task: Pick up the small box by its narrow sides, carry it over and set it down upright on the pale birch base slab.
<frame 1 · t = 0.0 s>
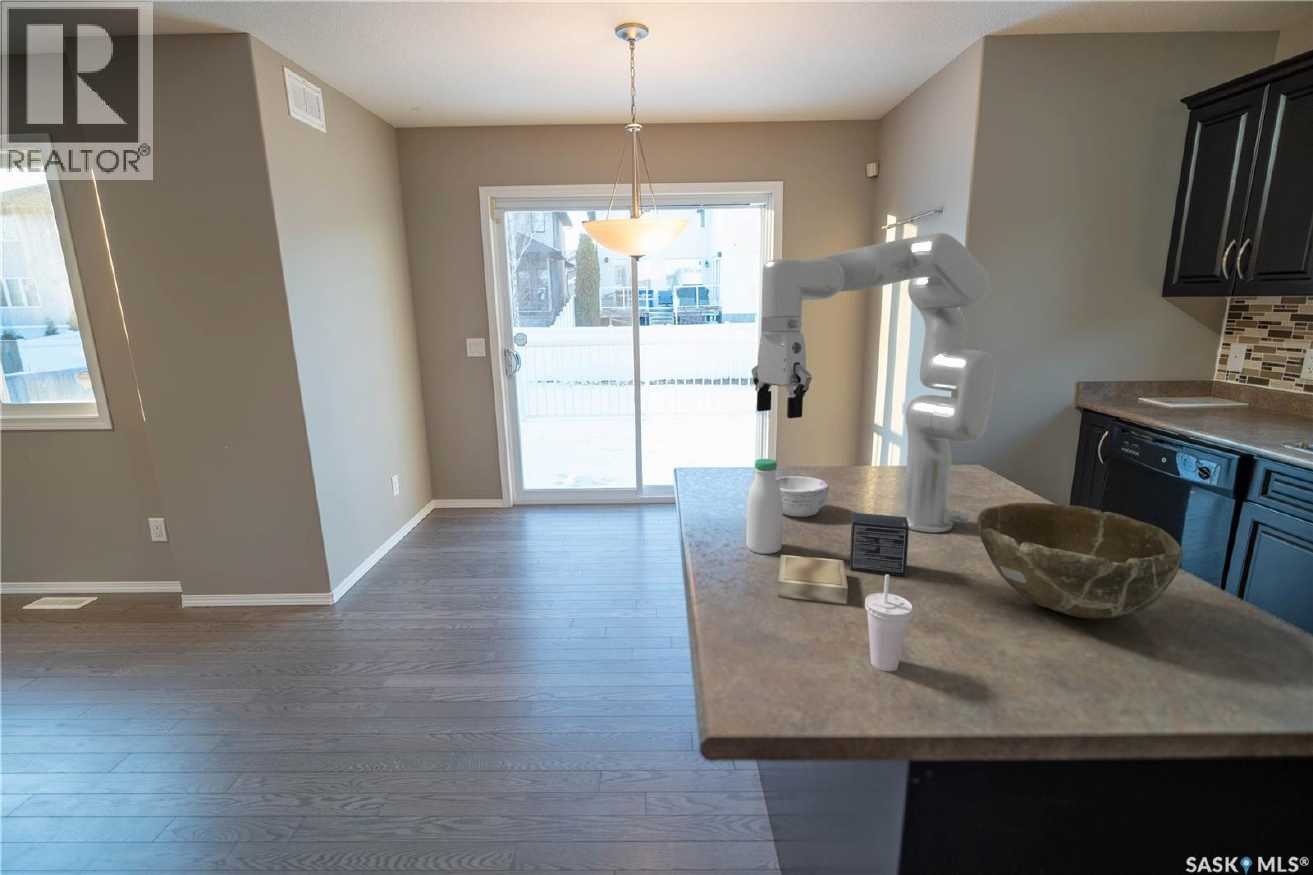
hand: (778, 414, 110), 31 cm above the counter, tool pointing down, fingers open, 9 cm apart
bowl: (1062, 608, 96), on the counter
paper bowls: (797, 512, 146), on the counter
base: (811, 585, 105), on the counter
small box: (876, 568, 112), on the counter
smoothie: (884, 664, 81), on the counter
milk bottle: (763, 548, 123), on the counter
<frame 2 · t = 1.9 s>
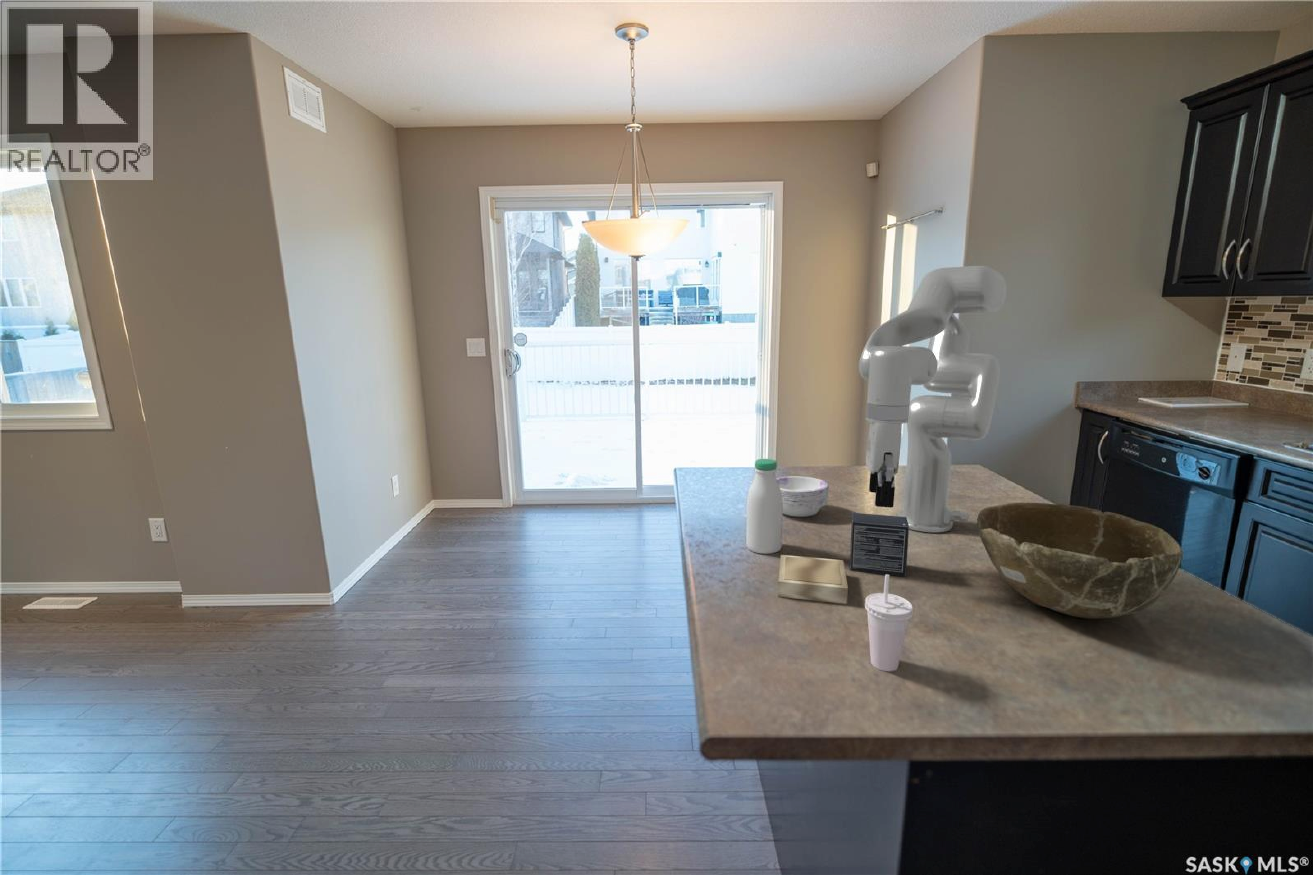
hand: (880, 499, 109), 15 cm above the counter, tool pointing down, fingers open, 9 cm apart
nothing on the counter moved.
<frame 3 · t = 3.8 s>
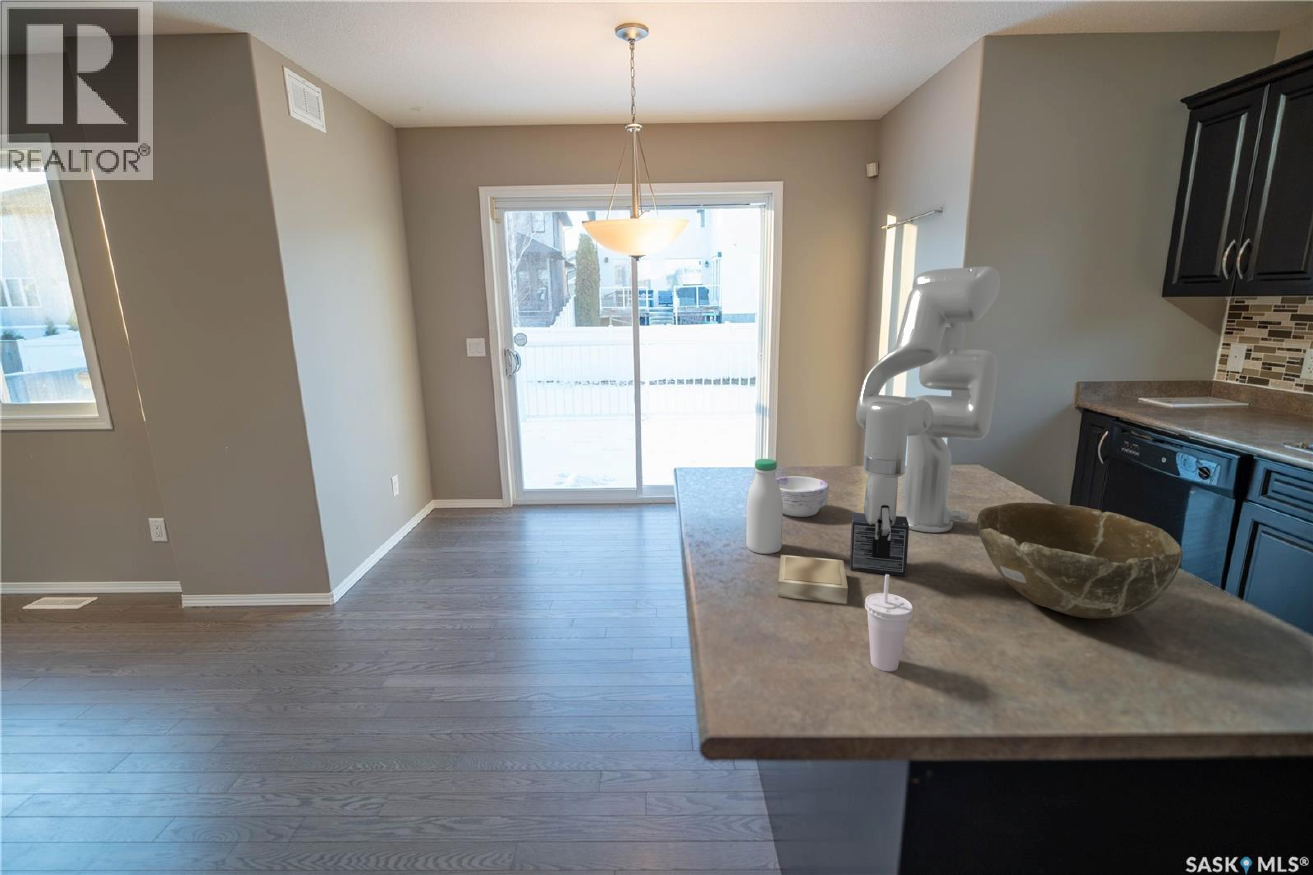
hand: (878, 549, 112), 4 cm above the counter, tool pointing down, fingers closed on small box, 6 cm apart
small box: (876, 568, 112), on the counter, touching gripper
everything else where it was.
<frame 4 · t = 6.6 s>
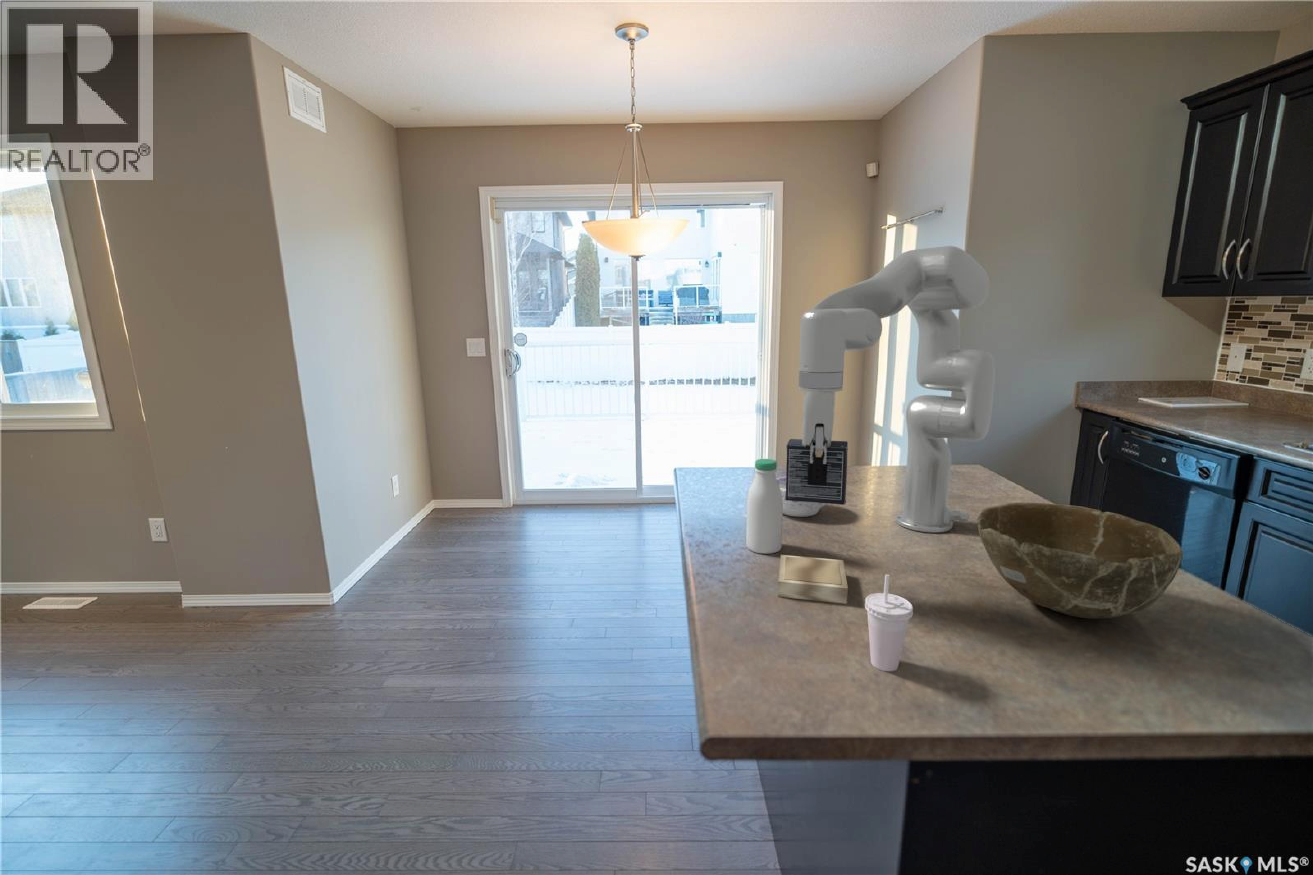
hand: (816, 478, 101), 21 cm above the counter, tool pointing down, fingers closed on small box, 6 cm apart
small box: (815, 498, 102), point 17 cm above the counter, touching gripper
everything else where it was.
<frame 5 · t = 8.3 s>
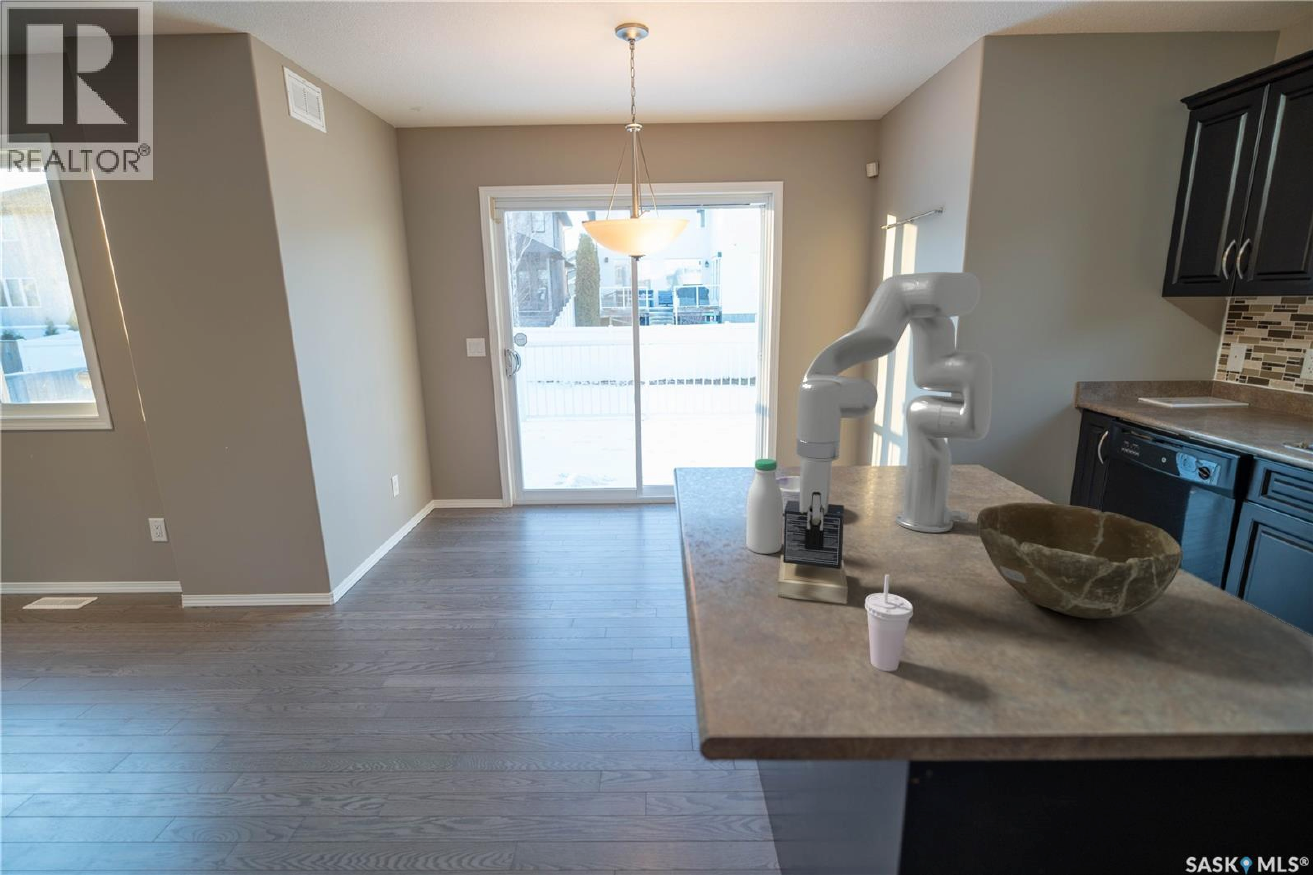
hand: (813, 541, 103), 9 cm above the counter, tool pointing down, fingers closed on small box, 6 cm apart
small box: (812, 560, 104), point 5 cm above the counter, touching gripper
everything else where it was.
when the fingers open (8 cm above the counter, at t = 9.4 s): small box drops 1 cm, resting on base.
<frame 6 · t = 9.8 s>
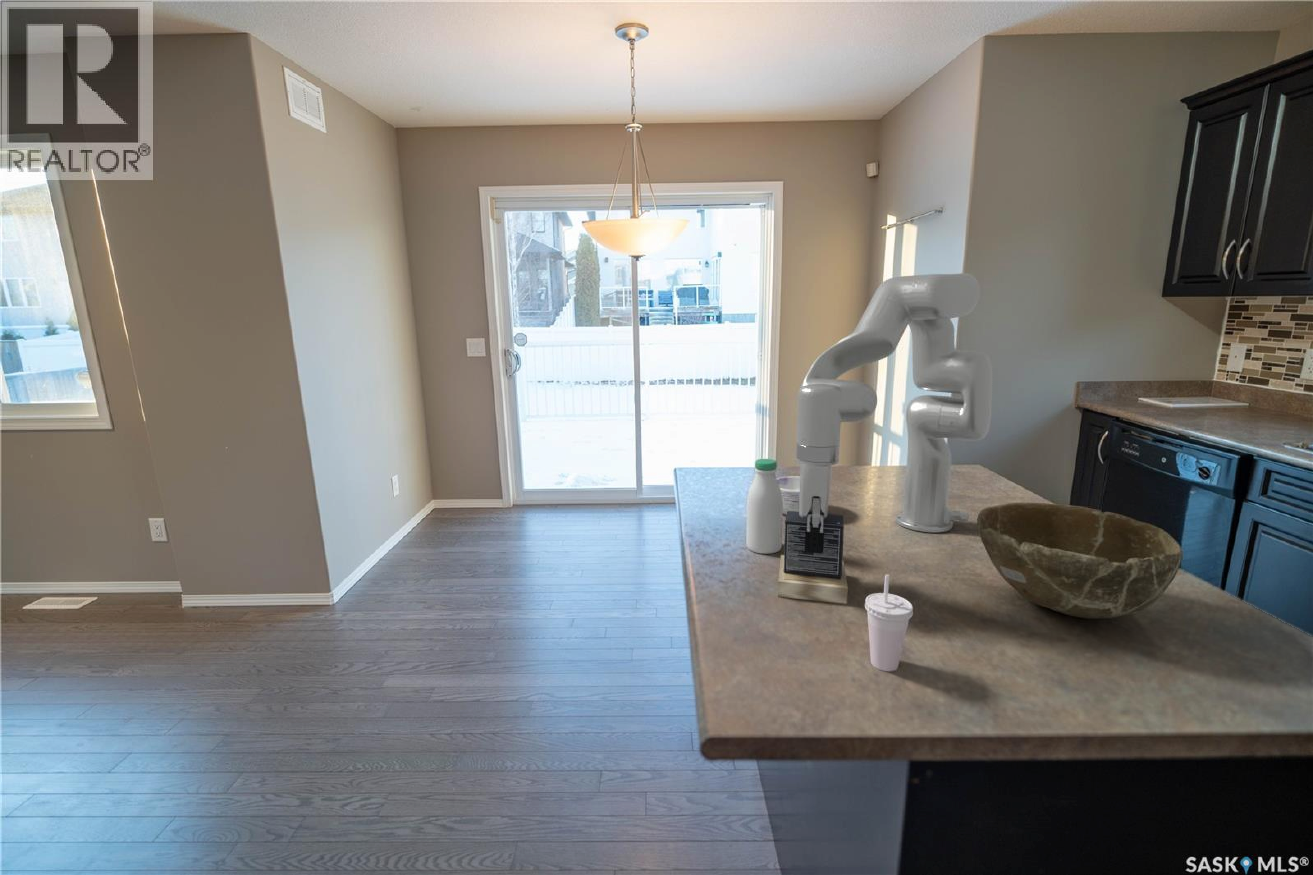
hand: (813, 541, 103), 9 cm above the counter, tool pointing down, fingers open, 9 cm apart
small box: (812, 570, 105), point 3 cm above the counter, touching base
everything else where it was.
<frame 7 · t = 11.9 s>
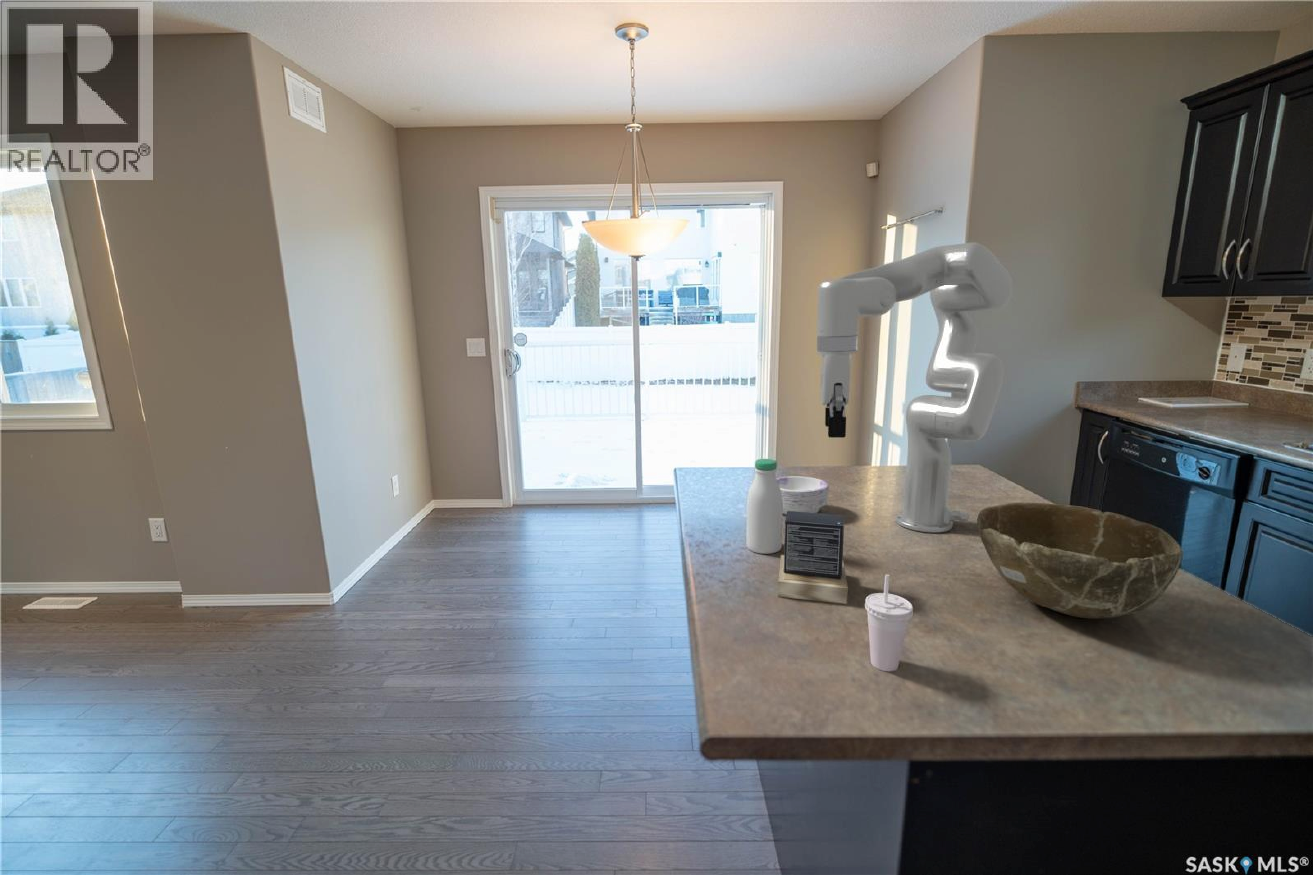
hand: (834, 431, 111), 27 cm above the counter, tool pointing down, fingers open, 9 cm apart
nothing on the counter moved.
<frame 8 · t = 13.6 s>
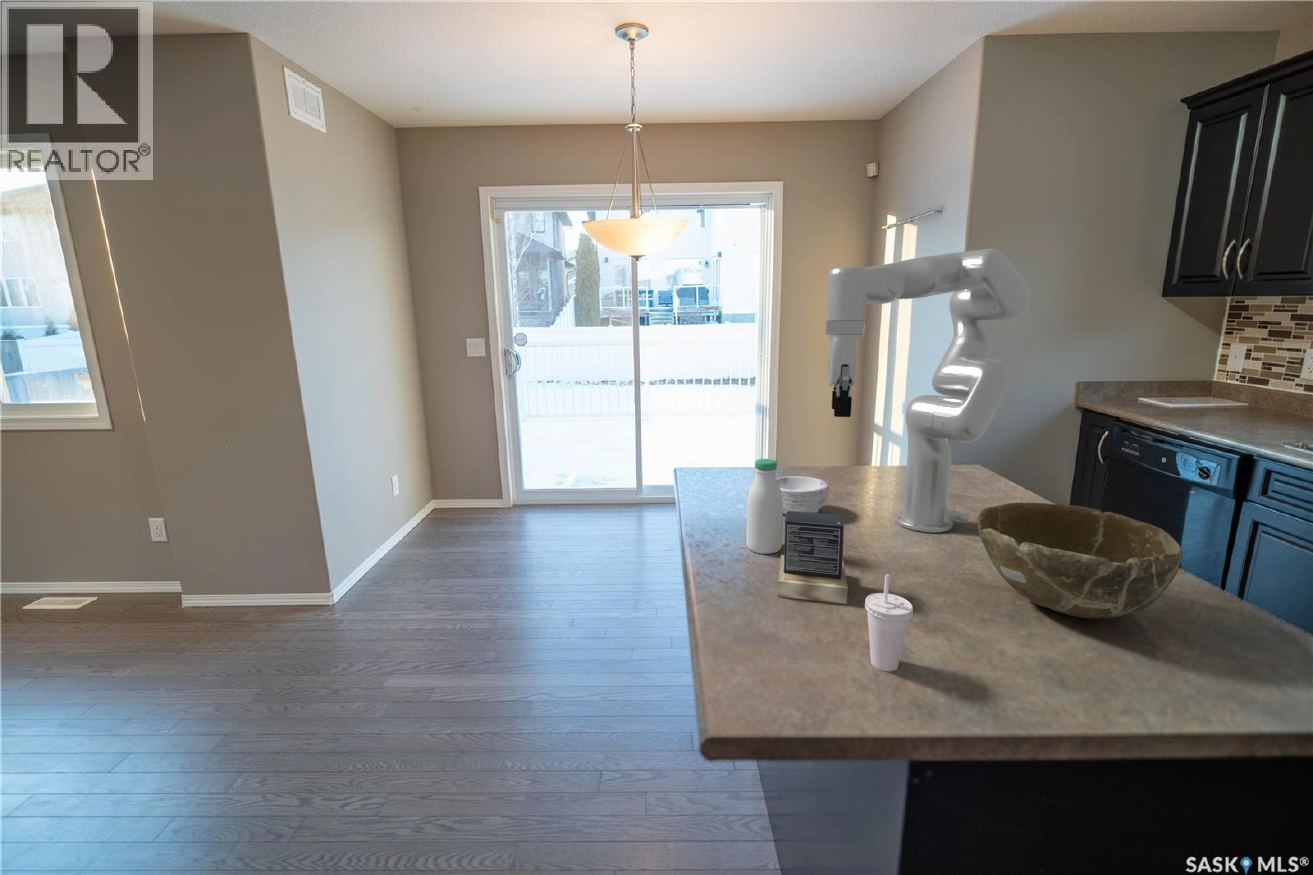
hand: (840, 412, 116), 30 cm above the counter, tool pointing down, fingers open, 9 cm apart
nothing on the counter moved.
at the end: small box inside the target area on the base (0.2 cm from its centre), point 2.9 cm above the base's base; small box tilted 0°; the gripper is holding nothing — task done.
